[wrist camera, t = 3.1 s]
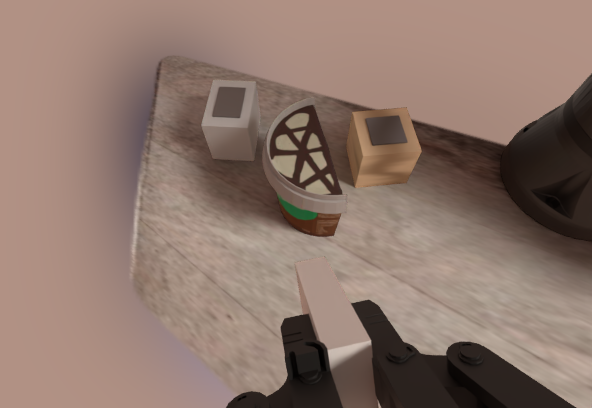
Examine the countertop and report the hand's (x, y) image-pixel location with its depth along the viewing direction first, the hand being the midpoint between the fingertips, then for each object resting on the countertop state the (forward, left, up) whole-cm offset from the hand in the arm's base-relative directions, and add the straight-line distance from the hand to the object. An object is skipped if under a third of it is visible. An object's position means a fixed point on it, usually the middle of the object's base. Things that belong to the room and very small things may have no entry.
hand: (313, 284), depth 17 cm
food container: (+2, -14, -18) cm, 23 cm away
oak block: (-7, -20, -18) cm, 28 cm away
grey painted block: (+10, -23, -18) cm, 31 cm away
